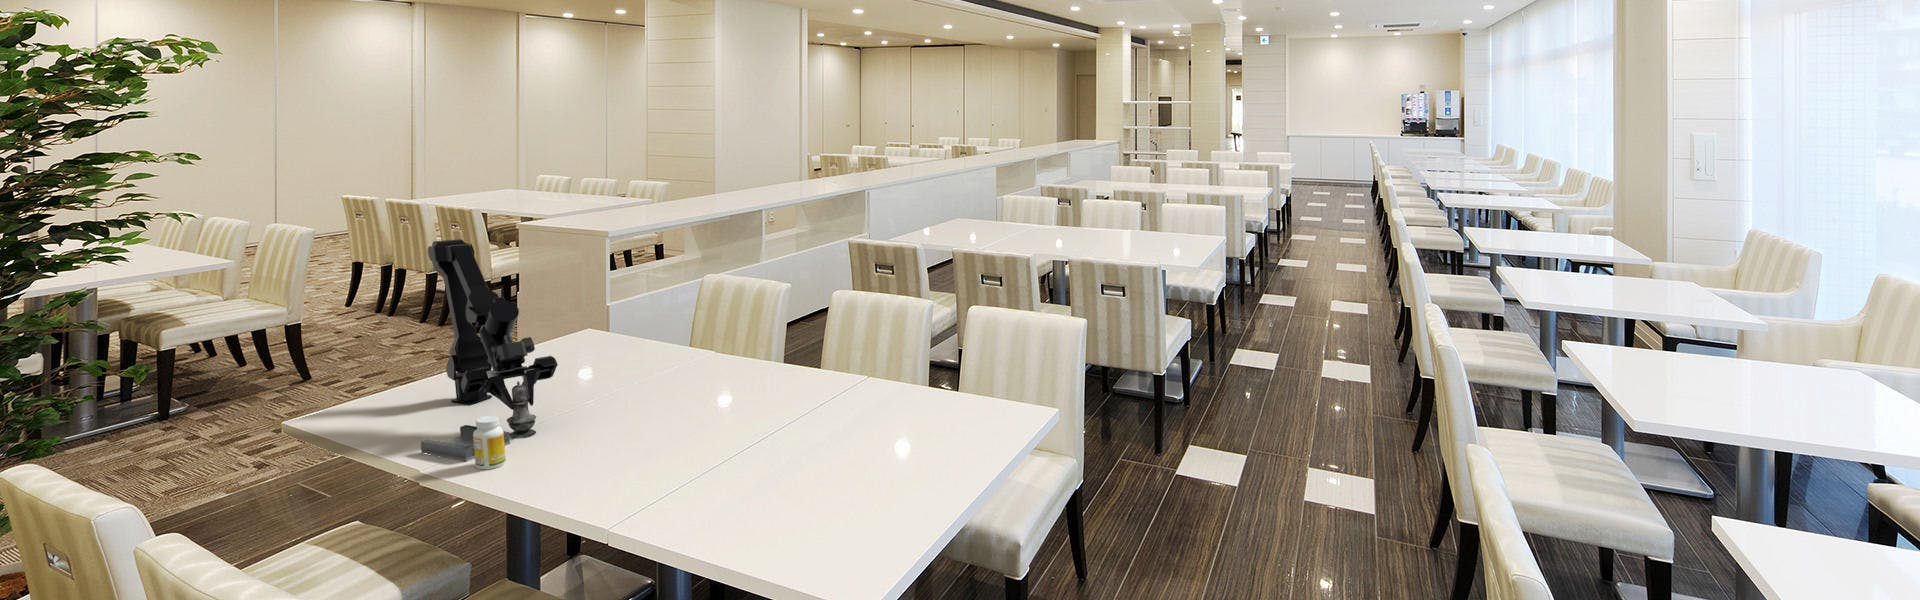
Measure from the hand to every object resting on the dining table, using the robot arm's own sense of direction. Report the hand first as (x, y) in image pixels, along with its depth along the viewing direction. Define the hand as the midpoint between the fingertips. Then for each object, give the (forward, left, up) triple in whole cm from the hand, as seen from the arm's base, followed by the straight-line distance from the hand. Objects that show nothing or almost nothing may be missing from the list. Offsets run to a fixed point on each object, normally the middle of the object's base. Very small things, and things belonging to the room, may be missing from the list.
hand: (522, 406), depth 196 cm
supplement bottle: (+7, -15, -7) cm, 18 cm away
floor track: (-5, -10, -7) cm, 13 cm away
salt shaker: (-1, +1, -7) cm, 7 cm away
